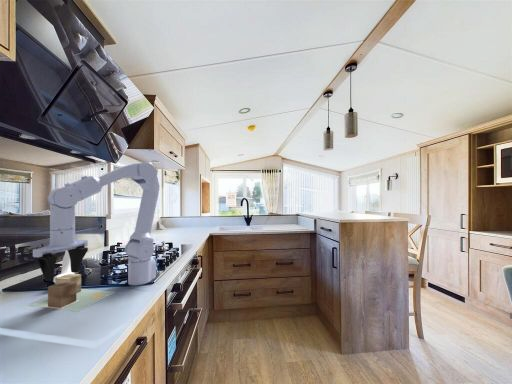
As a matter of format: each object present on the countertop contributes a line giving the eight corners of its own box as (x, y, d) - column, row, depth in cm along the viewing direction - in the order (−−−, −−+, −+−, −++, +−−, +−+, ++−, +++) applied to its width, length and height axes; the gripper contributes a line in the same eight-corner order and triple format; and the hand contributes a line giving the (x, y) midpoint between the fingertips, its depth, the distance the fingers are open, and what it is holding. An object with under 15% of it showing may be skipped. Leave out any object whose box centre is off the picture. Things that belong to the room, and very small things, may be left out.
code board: (72, 291, 83) (72, 288, 83) (115, 295, 80) (115, 291, 80) (27, 309, 70) (28, 305, 70) (76, 314, 67) (76, 311, 67)
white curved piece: (52, 294, 81) (52, 249, 81) (61, 278, 97) (61, 240, 97) (70, 291, 83) (70, 247, 84) (76, 275, 100) (76, 239, 100)
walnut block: (63, 299, 74) (63, 281, 74) (76, 300, 73) (76, 282, 73) (47, 306, 70) (48, 286, 70) (61, 307, 69) (61, 288, 69)
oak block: (69, 290, 82) (69, 273, 82) (81, 291, 81) (81, 274, 81) (55, 295, 77) (55, 278, 77) (67, 296, 76) (67, 279, 76)
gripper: (74, 225, 80) (74, 268, 79) (23, 232, 65) (23, 284, 65) (93, 226, 78) (93, 269, 78) (44, 233, 64) (44, 286, 64)
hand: (62, 276), depth 71 cm, fingers open, 7 cm apart
